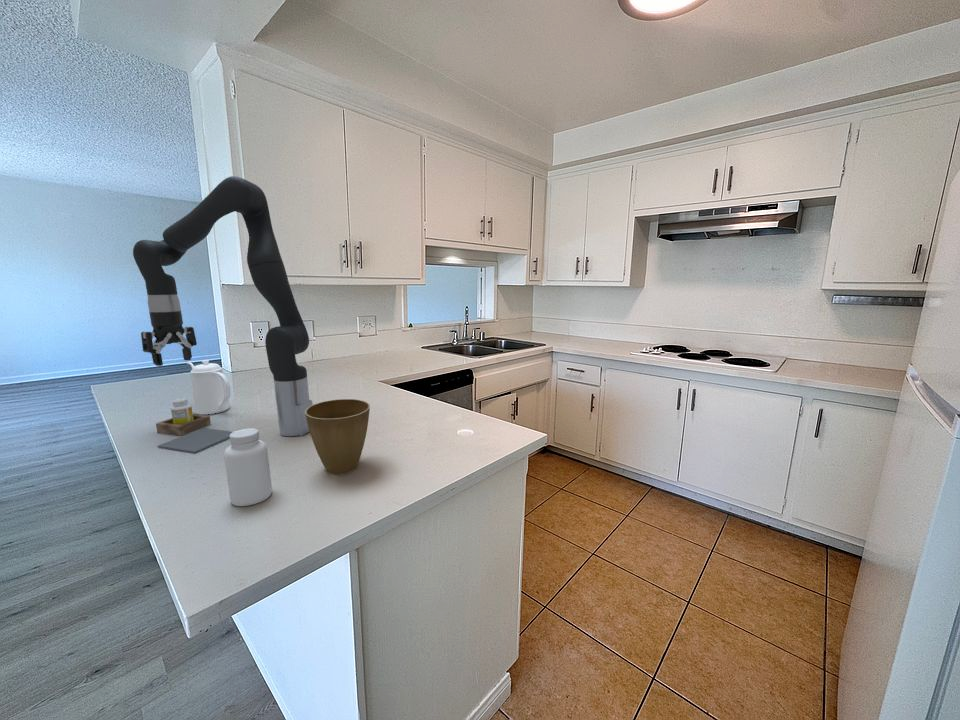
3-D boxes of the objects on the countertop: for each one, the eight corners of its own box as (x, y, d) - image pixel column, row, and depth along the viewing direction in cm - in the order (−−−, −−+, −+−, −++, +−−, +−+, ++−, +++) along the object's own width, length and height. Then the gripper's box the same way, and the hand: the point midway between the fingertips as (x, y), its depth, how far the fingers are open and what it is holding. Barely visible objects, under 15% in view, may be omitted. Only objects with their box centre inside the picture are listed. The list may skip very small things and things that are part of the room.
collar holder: (210, 424, 127) (209, 416, 126) (180, 436, 118) (179, 426, 117) (188, 421, 130) (186, 413, 129) (157, 432, 120) (155, 423, 120)
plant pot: (306, 487, 89) (300, 421, 85) (314, 458, 103) (309, 401, 99) (374, 477, 93) (370, 414, 89) (372, 451, 107) (369, 396, 103)
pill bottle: (279, 487, 89) (271, 425, 86) (261, 507, 81) (252, 440, 78) (244, 487, 88) (235, 425, 85) (222, 508, 81) (211, 440, 78)
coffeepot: (208, 401, 151) (201, 354, 148) (247, 411, 140) (240, 360, 136) (176, 409, 142) (168, 359, 138) (215, 420, 131) (207, 366, 127)
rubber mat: (239, 434, 119) (239, 432, 119) (195, 453, 106) (194, 451, 106) (204, 429, 123) (204, 427, 123) (157, 447, 110) (157, 445, 110)
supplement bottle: (188, 424, 127) (184, 396, 125) (198, 427, 125) (193, 398, 123) (170, 430, 122) (165, 401, 121) (180, 432, 120) (175, 403, 118)
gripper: (148, 312, 108) (158, 368, 112) (197, 308, 122) (205, 359, 125) (129, 311, 110) (139, 366, 114) (179, 308, 124) (187, 357, 127)
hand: (173, 362), depth 119 cm, fingers open, 8 cm apart
